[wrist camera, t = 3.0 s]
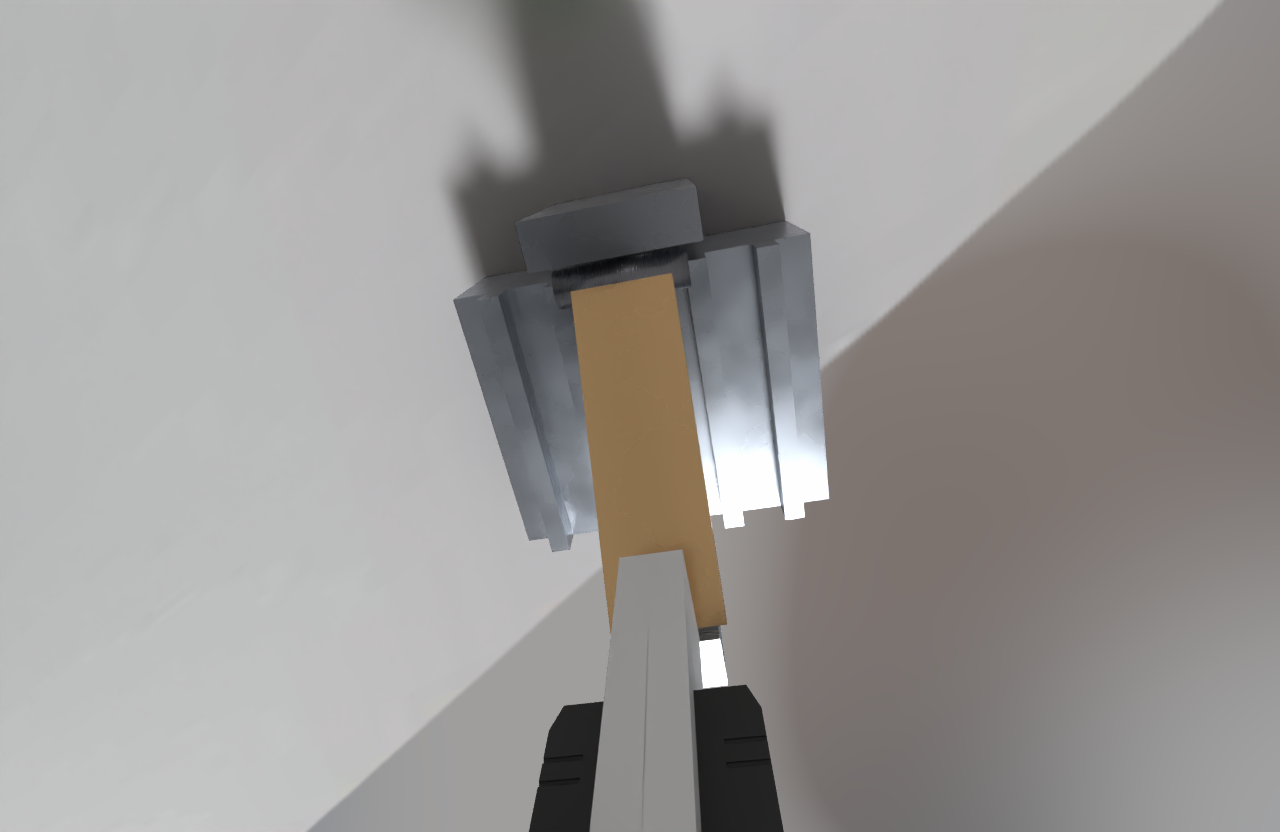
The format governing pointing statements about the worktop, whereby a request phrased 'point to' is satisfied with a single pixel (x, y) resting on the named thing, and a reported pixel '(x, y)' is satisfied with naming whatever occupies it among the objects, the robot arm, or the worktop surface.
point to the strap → (642, 418)
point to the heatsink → (714, 348)
